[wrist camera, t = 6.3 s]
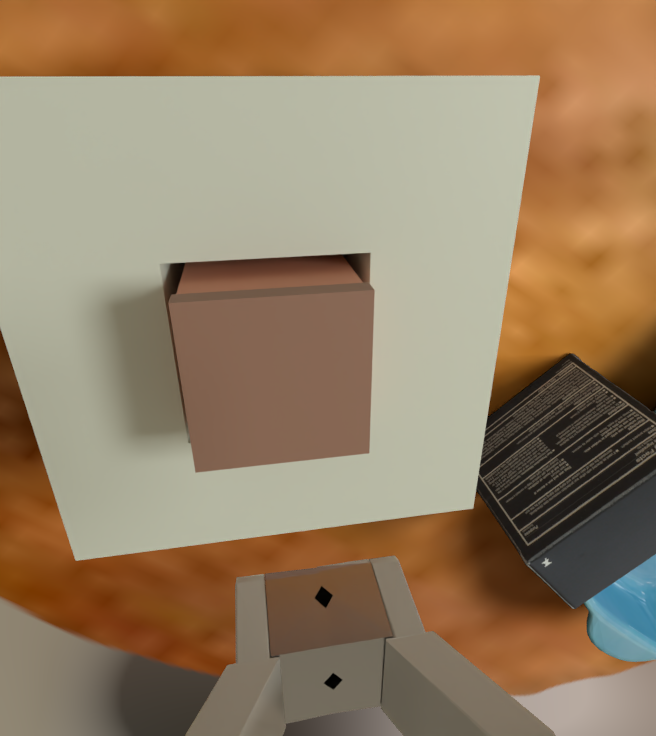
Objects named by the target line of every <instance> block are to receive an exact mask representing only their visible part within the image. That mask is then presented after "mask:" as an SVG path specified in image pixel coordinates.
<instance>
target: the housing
mask: <svg viewBox="0 0 656 736" xmlns="http://www.w3.org/2000/svg"><path fill="white" fill-rule="evenodd" d="M539 79H540V76H116V77H0V329H1V332H2V335H3V338H4V341H5V344H6V347H7V350H8V353H9V356H10V359H11V363H12V366H13V369H14V372H15V375H16V378H17V381H18V384H19V387H20V390H21V393H22V396H23V400H24V403H25V406H26V409H27V412H28V415H29V418H30V421H31V424H32V427H33V430H34V434H35V437H36V440H37V443H38V446H39V449H40V452H41V455H42V458H43V461H44V464H45V467H46V471H47V474H48V477H49V480H50V483H51V486H52V489H53V492H54V495H55V498H56V501H57V505H58V508H59V511H60V514H61V517H62V520H63V523H64V526H65V529H66V532H67V535H68V538H69V542H70V545H71V548H72V551H73V554H74V557H75V560H76V561H77V560H85V559H92V558H100V557H108V556H115V555H123V554H130V553H138V552H146V551H153V550H161V549H169V548H176V547H184V546H191V545H199V544H207V543H214V542H222V541H229V540H237V539H245V538H252V537H260V536H268V535H275V534H283V533H290V532H298V531H306V530H313V529H321V528H328V527H336V526H344V525H351V524H359V523H367V522H374V521H382V520H389V519H397V518H405V517H412V516H420V515H428V514H435V513H443V512H450V511H458V510H466V509H473V507H474V500H475V494H476V487H477V481H478V475H479V468H480V462H481V455H482V449H483V442H484V436H485V429H486V423H487V416H488V410H489V403H490V397H491V390H492V384H493V377H494V371H495V364H496V358H497V351H498V345H499V338H500V332H501V325H502V319H503V312H504V306H505V299H506V293H507V287H508V280H509V274H510V267H511V261H512V254H513V248H514V241H515V235H516V228H517V222H518V215H519V209H520V202H521V196H522V189H523V183H524V176H525V170H526V163H527V157H528V150H529V144H530V137H531V131H532V124H533V118H534V112H535V105H536V99H537V92H538V86H539ZM335 254H342V256H343V257H344V258H345V260H346V261H347V262H348V263H349V265H350V266H351V267H352V269H353V270H354V271H355V273H356V274H357V275H358V276H359V278H360V279H361V280H362V282H363V283H366V282H369V284H370V285H371V286H372V287H373V289H374V290H375V294H374V325H373V356H372V387H371V418H370V449H369V453H368V454H359V455H350V456H341V457H332V458H323V459H314V460H305V461H296V462H287V463H278V464H269V465H260V466H251V467H242V468H233V469H224V470H215V471H206V472H197V473H195V467H194V460H193V454H192V448H191V441H190V435H189V429H188V423H187V416H186V410H185V404H184V398H183V391H182V385H181V379H180V373H179V366H178V360H177V354H176V347H175V341H174V335H173V329H172V322H171V316H170V310H169V304H168V303H169V300H170V297H171V295H172V294H176V293H177V289H178V286H179V283H180V280H181V276H182V273H183V270H184V266H185V263H186V262H204V261H222V260H241V259H260V258H279V257H298V256H317V255H335Z"/></svg>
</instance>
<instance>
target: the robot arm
mask: <svg viewBox="0 0 656 736" xmlns="http://www.w3.org/2000/svg"><path fill="white" fill-rule="evenodd" d="M265 586H266V587H265ZM235 601H236V664H231V665H227V667H226V668H225V670H224V672H223V673H222V675H221V677H220V678H219V680H218V682H217V683H216V685H215V687H214V688H213V690H212V692H211V693H210V695H209V697H208V699H207V700H206V702H205V704H204V705H203V707H202V708H201V710H200V712H199V714H198V715H197V717H196V718H195V720H194V722H193V724H192V725H191V727H190V728H189V730H188V732H187V734H186V735H185V736H283V733H284V730H285V728H286V726H285V724H286V723H291V722H296V721H300V720H305V719H310V718H314V717H319V716H323V715H328V714H333V713H339V712H346V711H352V710H359V709H365V708H372V707H378V706H381V709H382V710H383V712H384V713H385V714H386V715H387V716H388V717H389V719H390V720H391V721H392V722H393V724H394V725H395V726H396V727H397V729H398V730H399V731H400V732H401V733H402V735H403V736H555V734H554V732H553V731H552V730H551V729H550V728H549V727H547V726H546V725H545V724H544V723H542V722H541V721H540V720H539V719H538V718H537V717H535V716H534V715H533V714H532V713H531V712H529V711H528V710H527V709H526V708H525V707H523V706H522V705H521V704H520V703H519V702H517V701H516V700H515V699H514V698H513V697H511V696H510V695H509V694H508V693H507V692H505V691H504V690H503V689H502V688H501V687H500V686H498V685H497V684H496V683H495V682H494V681H492V680H491V679H490V678H489V677H488V676H486V675H485V674H484V673H483V672H482V671H480V670H479V669H478V668H477V667H476V666H474V665H473V664H472V663H471V662H470V661H468V660H467V659H466V658H465V657H464V656H462V655H461V654H460V653H459V652H458V651H456V650H455V649H454V648H453V647H452V646H450V645H449V644H448V643H447V642H446V641H444V640H443V639H442V638H441V637H440V636H438V635H437V634H436V633H435V632H434V631H432V632H425V630H424V627H423V625H422V622H421V619H420V617H419V614H418V611H417V609H416V606H415V603H414V601H413V598H412V595H411V593H410V590H409V587H408V585H407V582H406V579H405V577H404V574H403V571H402V569H401V566H400V563H399V560H398V559H397V558H396V557H395V556H388V557H381V558H375V559H369V560H367V559H365V560H358V561H352V562H346V563H339V564H333V565H326V566H320V567H317V568H311V569H302V570H294V571H285V572H276V573H267V574H265V577H264V574H261V575H253V576H245V577H237V579H236V585H235Z"/></svg>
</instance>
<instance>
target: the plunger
mask: <svg viewBox="0 0 656 736" xmlns="http://www.w3.org/2000/svg"><path fill="white" fill-rule="evenodd" d="M374 294H375V290H374V289H373V287H372V286H371V285H370V284H369V282H366V283H363V282H362V280H361V279H360V278H359V276H358V275H357V274H356V273H355V271H354V270H353V269H352V267H351V266H350V265H349V263H348V262H347V261H346V260H345V258H344V257H343V256H342V254H335V255H317V256H298V257H279V258H260V259H241V260H222V261H204V262H186V263H185V266H184V270H183V273H182V276H181V280H180V283H179V286H178V289H177V293H176V294H172V295H171V297H170V300H169V303H168V304H169V310H170V316H171V322H172V329H173V335H174V341H175V347H176V354H177V360H178V366H179V373H180V379H181V385H182V391H183V398H184V404H185V410H186V416H187V423H188V429H189V435H190V441H191V448H192V454H193V460H194V467H195V473H197V472H206V471H215V470H224V469H233V468H242V467H251V466H260V465H269V464H278V463H287V462H296V461H305V460H314V459H323V458H332V457H341V456H350V455H359V454H368V453H369V449H370V418H371V387H372V356H373V325H374Z"/></svg>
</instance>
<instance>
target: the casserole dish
mask: <svg viewBox="0 0 656 736" xmlns="http://www.w3.org/2000/svg"><path fill="white" fill-rule="evenodd" d="M653 412H654V413H655V414H656V409H655V410H654V411H653ZM584 605H585V606H586V608H587V609H588V611H589V614H588V617H587V633H588V636H589V638H590V640H591V642H592V643H593V644H594V645H595V646H596V647H597V648H598V649H600V650H601V651H603V652H605V653H606V654H608V655H610V656H612V657H615V658H617V659H620V660H624V661H632V662H637V661H649V660H655V659H656V554H655V555H654V556H652V557H651V558H649V559H648V560H647V561H645V562H644V563H642V564H641V565H639V566H638V567H636V568H635V569H633V570H632V571H630V572H629V573H627V574H626V575H624V576H623V577H622V578H620V579H619V580H617V581H616V582H614V583H613V584H611V585H610V586H608V587H607V588H605V589H604V590H602V591H601V592H599V593H598V594H597V595H595V596H594V597H592V598H591V599H589V600H588V601H586V602H585V603H584Z"/></svg>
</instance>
